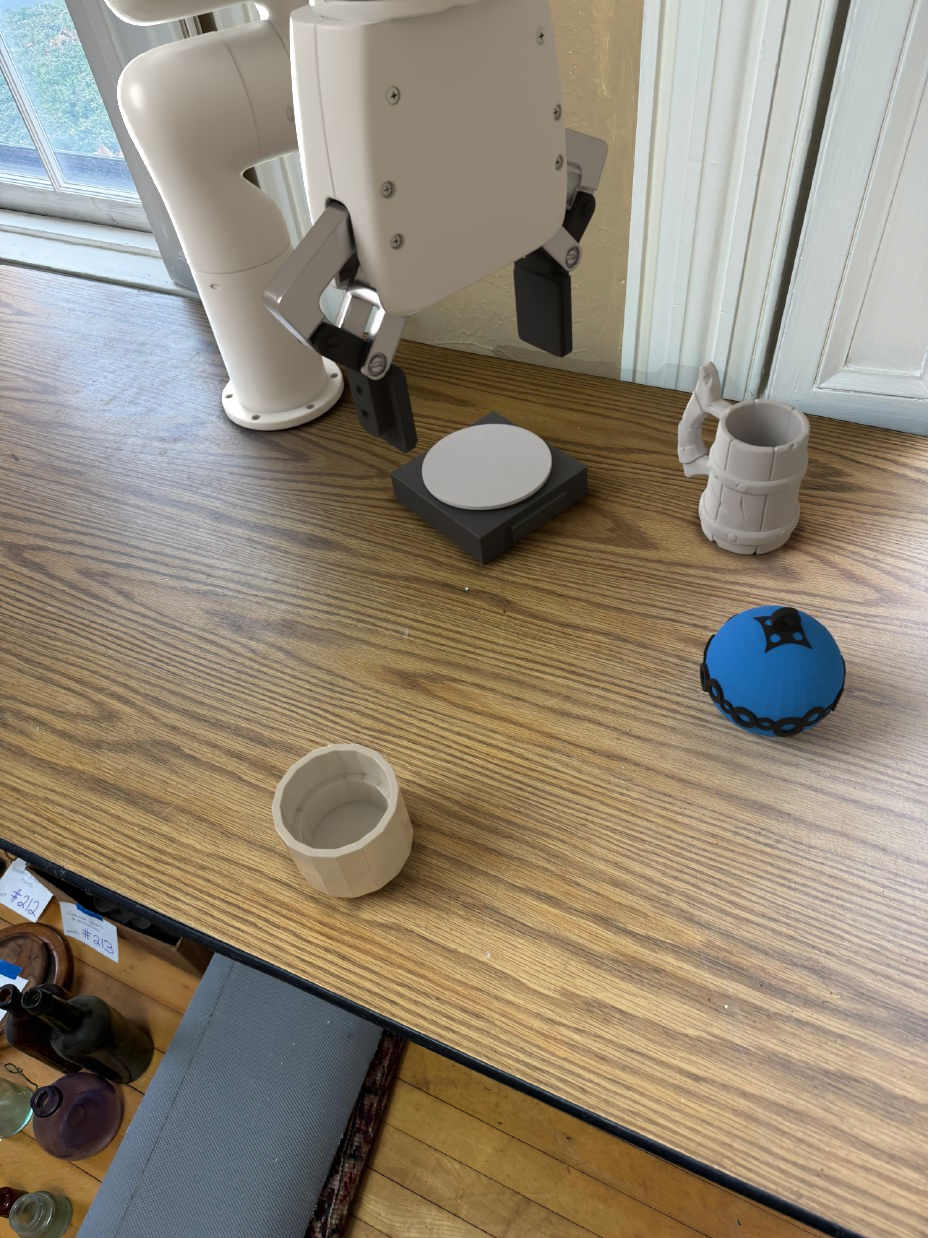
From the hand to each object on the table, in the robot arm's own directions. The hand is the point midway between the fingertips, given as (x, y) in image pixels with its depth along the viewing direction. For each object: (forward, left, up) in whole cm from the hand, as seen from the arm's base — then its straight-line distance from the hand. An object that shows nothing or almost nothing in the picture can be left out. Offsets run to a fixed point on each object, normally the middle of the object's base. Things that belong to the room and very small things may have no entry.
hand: (471, 390), depth 40 cm
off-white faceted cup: (+1, -14, -26) cm, 30 cm away
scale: (-18, +14, -26) cm, 35 cm away
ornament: (+12, +12, -26) cm, 31 cm away
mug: (-2, +26, -26) cm, 37 cm away
